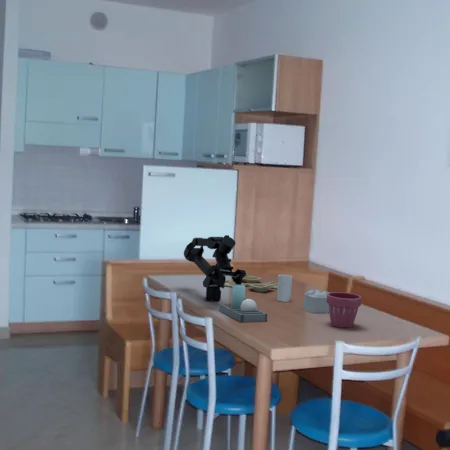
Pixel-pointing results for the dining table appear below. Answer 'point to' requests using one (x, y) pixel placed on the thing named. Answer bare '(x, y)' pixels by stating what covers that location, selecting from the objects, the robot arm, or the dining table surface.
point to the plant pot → (343, 308)
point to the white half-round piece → (248, 305)
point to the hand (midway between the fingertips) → (231, 289)
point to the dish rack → (244, 314)
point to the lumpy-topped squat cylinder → (316, 302)
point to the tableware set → (255, 283)
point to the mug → (284, 288)
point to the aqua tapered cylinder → (237, 296)
